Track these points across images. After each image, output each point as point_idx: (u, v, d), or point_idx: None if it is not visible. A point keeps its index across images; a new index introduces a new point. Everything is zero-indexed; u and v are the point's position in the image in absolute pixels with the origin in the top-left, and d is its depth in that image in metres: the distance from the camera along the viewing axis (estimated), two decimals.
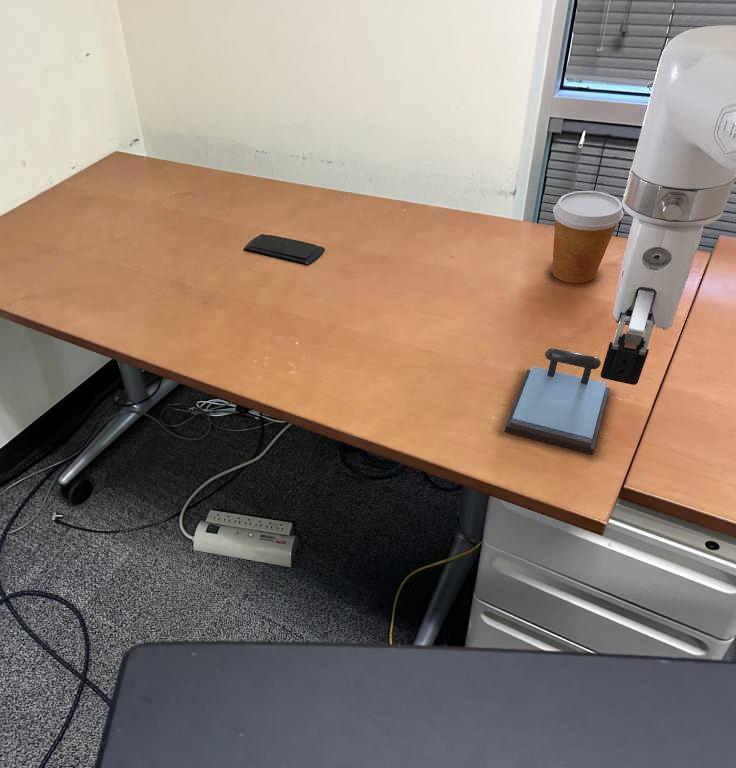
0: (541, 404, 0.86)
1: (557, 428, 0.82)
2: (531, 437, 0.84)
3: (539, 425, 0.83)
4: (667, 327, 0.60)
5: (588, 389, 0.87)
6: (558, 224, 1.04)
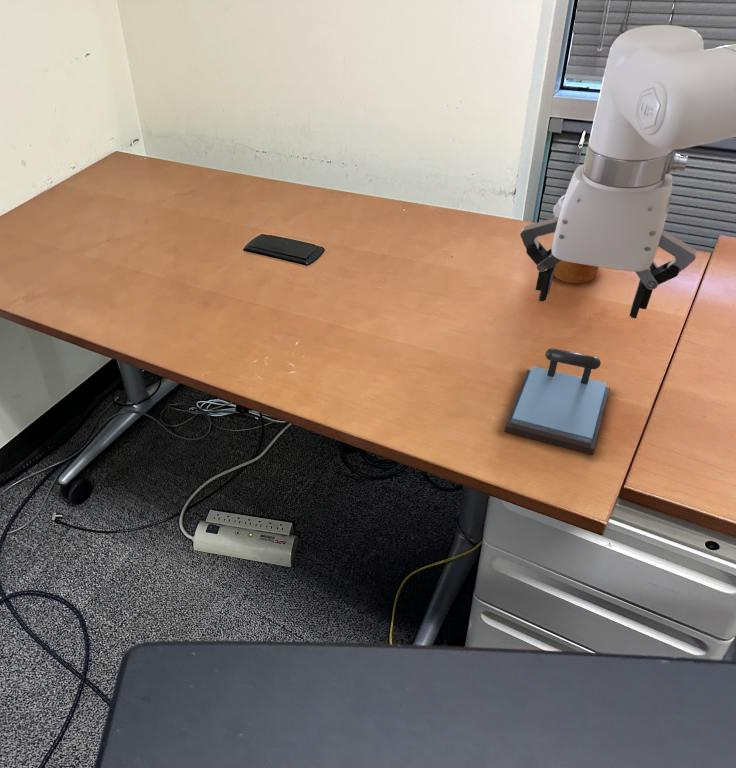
0: (541, 404, 0.86)
1: (557, 428, 0.82)
2: (531, 437, 0.84)
3: (539, 425, 0.83)
4: None
5: (588, 389, 0.87)
6: None
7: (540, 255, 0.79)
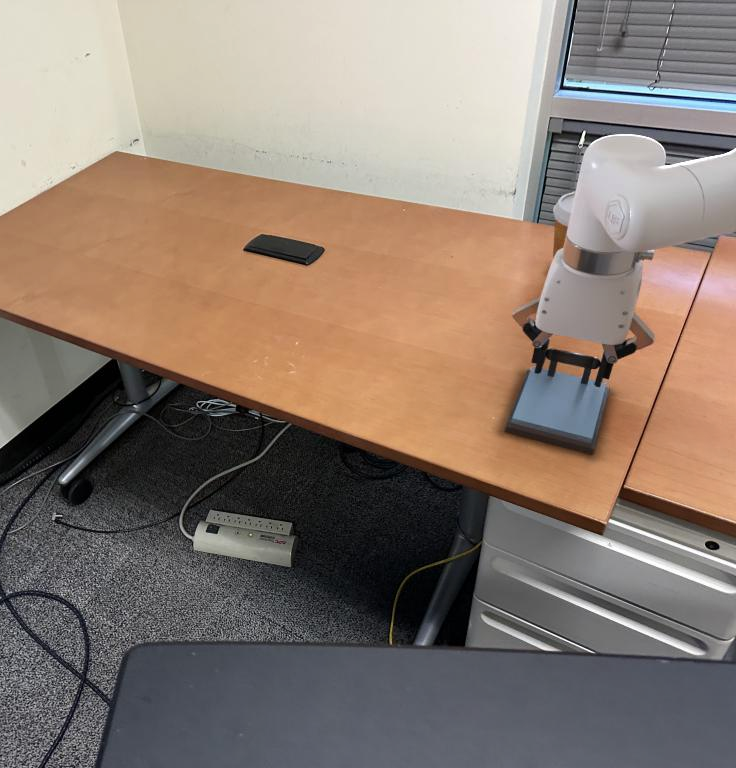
0: (541, 404, 0.86)
1: (557, 428, 0.82)
2: (531, 437, 0.84)
3: (539, 425, 0.83)
4: None
5: (588, 389, 0.87)
6: (558, 224, 1.04)
7: (535, 333, 0.86)
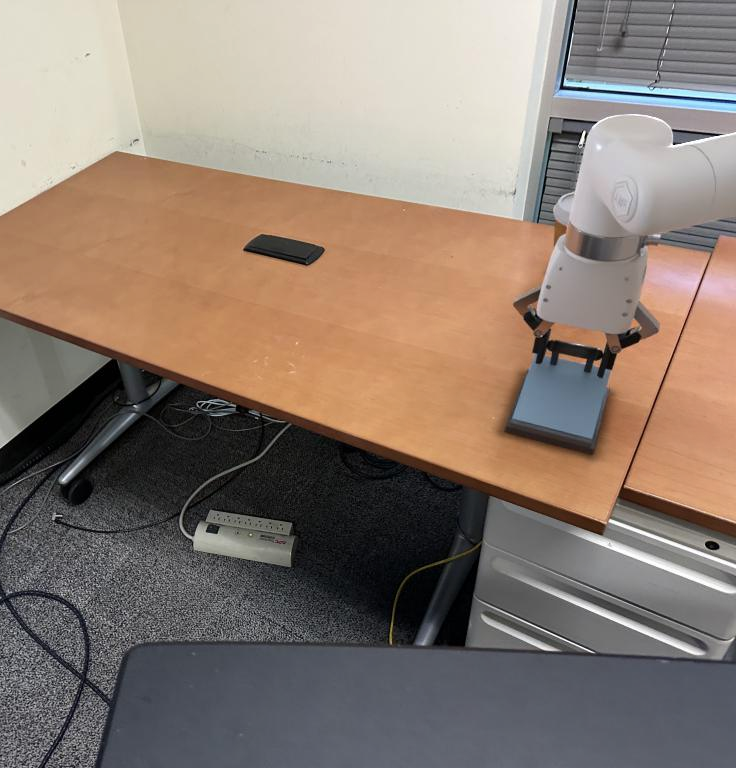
0: (542, 400, 0.85)
1: (557, 428, 0.82)
2: (531, 437, 0.84)
3: (539, 425, 0.83)
4: None
5: (591, 378, 0.85)
6: (558, 224, 1.04)
7: (536, 322, 0.84)
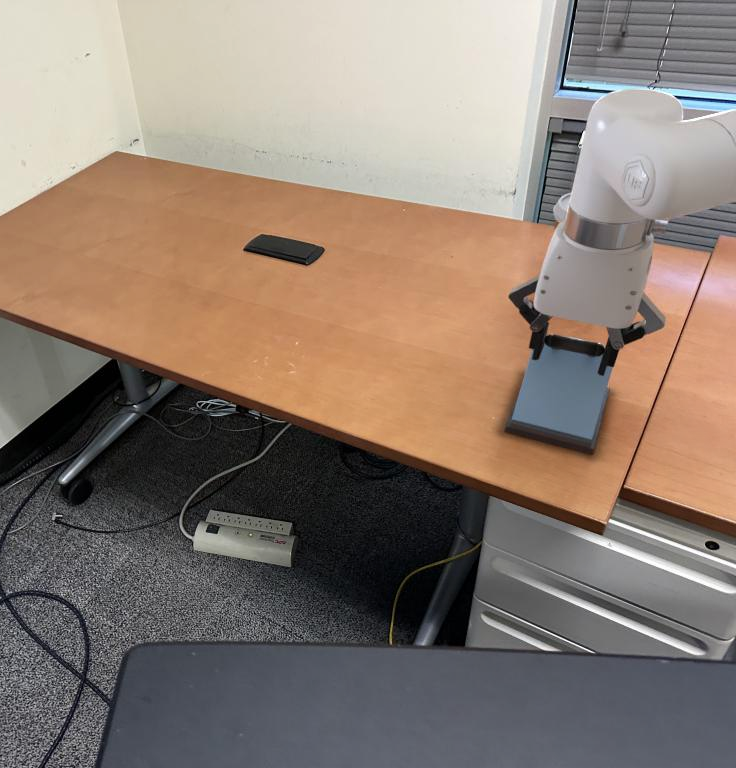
0: (542, 395, 0.83)
1: (557, 429, 0.82)
2: (531, 437, 0.84)
3: (539, 426, 0.83)
4: None
5: (595, 364, 0.81)
6: None
7: (533, 315, 0.78)
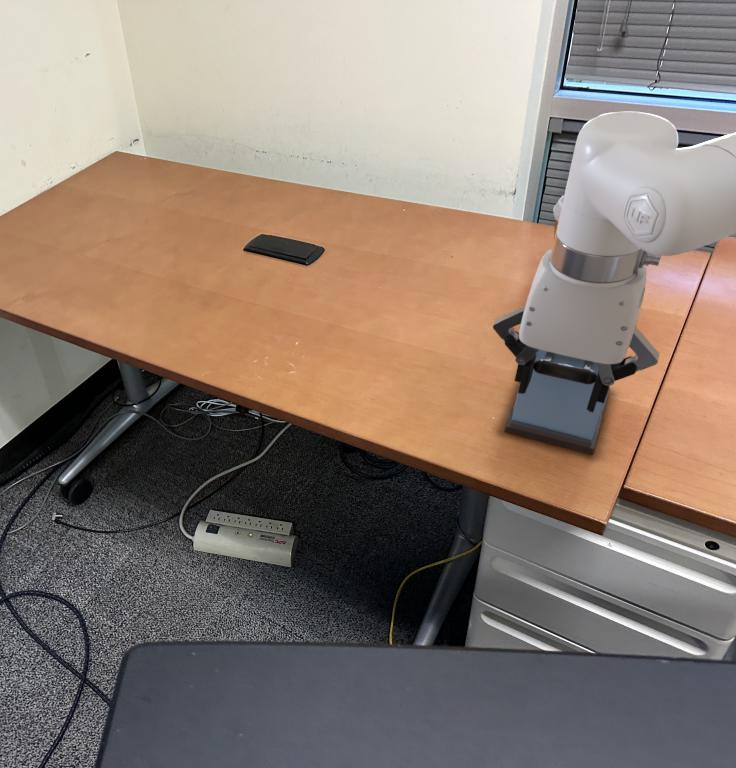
0: (540, 400, 0.81)
1: None
2: (531, 437, 0.84)
3: None
4: None
5: None
6: None
7: (519, 347, 0.74)
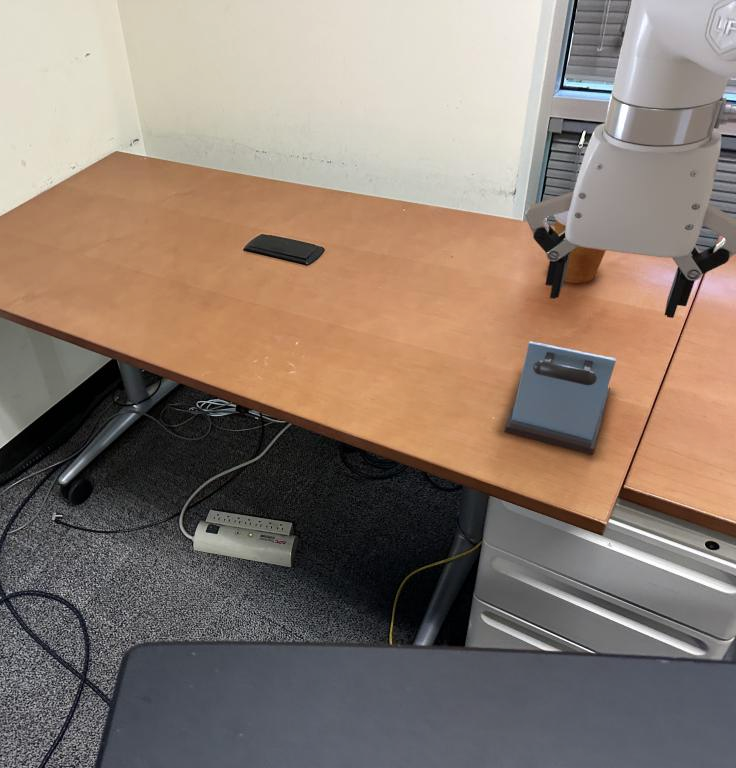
0: (539, 401, 0.81)
1: None
2: (531, 437, 0.84)
3: None
4: None
5: None
6: (558, 224, 1.04)
7: (551, 240, 0.64)
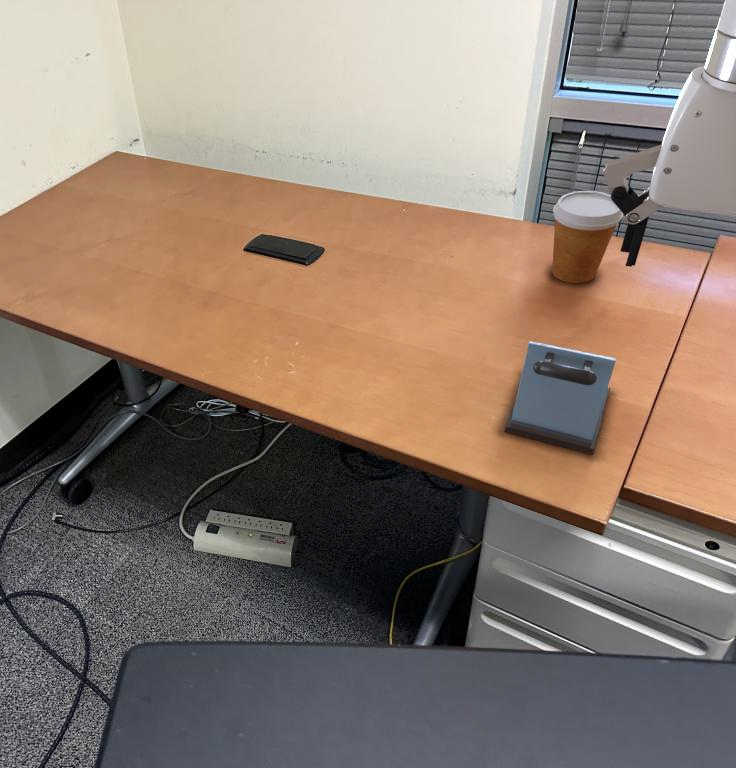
0: (539, 401, 0.81)
1: None
2: (531, 437, 0.84)
3: None
4: None
5: None
6: (558, 224, 1.04)
7: (631, 201, 0.57)
